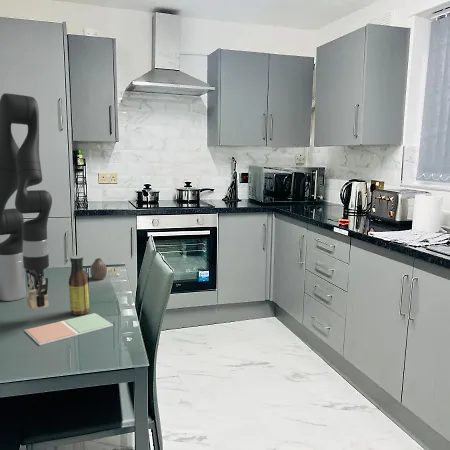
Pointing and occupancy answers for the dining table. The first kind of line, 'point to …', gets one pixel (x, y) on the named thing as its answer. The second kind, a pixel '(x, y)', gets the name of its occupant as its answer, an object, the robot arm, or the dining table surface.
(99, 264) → the brown rounded lump
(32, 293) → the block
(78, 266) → the sauce bottle
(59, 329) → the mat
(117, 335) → the dining table surface
